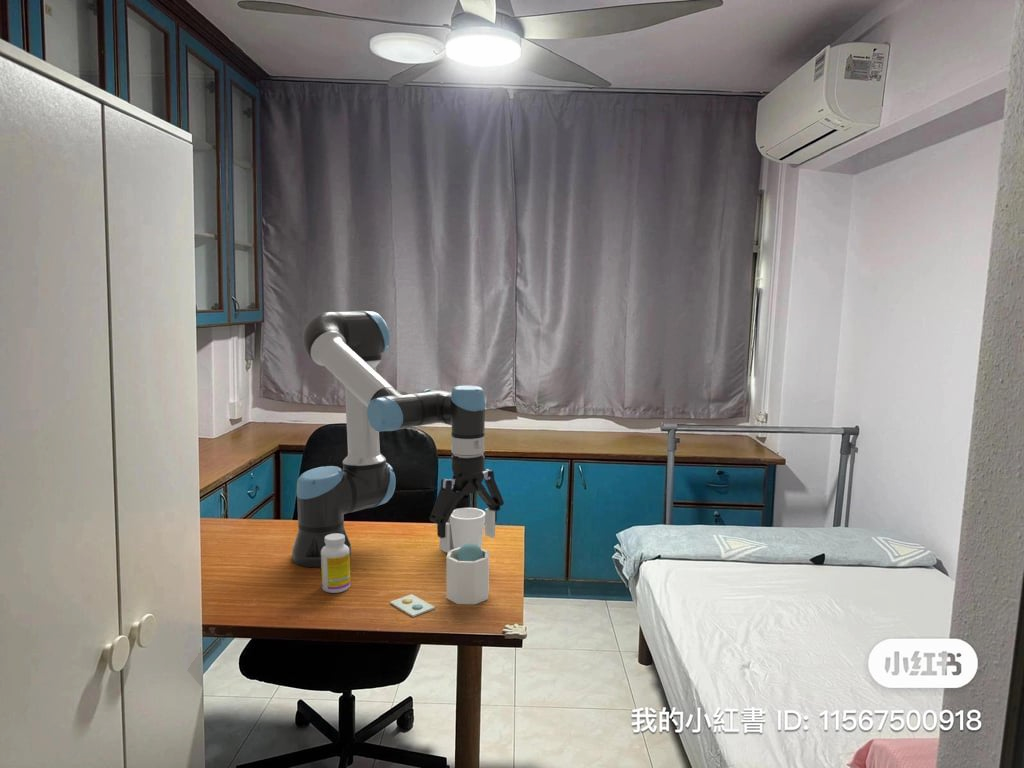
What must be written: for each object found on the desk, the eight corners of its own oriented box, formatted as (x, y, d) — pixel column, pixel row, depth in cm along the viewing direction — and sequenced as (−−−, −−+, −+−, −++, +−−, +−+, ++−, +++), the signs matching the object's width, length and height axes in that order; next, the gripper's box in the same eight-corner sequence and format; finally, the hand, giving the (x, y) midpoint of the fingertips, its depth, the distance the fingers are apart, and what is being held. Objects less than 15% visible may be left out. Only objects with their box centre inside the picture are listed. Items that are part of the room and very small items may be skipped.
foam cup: (453, 569, 182) (453, 520, 180) (446, 556, 190) (446, 509, 188) (489, 566, 184) (489, 517, 182) (481, 552, 193) (481, 506, 191)
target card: (390, 603, 162) (390, 601, 162) (411, 595, 166) (411, 593, 166) (413, 617, 156) (412, 614, 156) (435, 608, 160) (434, 606, 160)
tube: (439, 594, 167) (438, 553, 166) (470, 582, 174) (470, 543, 172) (465, 608, 160) (465, 565, 159) (496, 595, 167) (497, 555, 165)
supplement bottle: (356, 587, 170) (355, 536, 169) (333, 596, 165) (331, 543, 164) (339, 579, 175) (337, 529, 173) (316, 588, 170) (314, 537, 168)
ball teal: (448, 561, 165) (457, 539, 169) (465, 575, 168) (473, 553, 172) (467, 558, 161) (475, 536, 165) (483, 572, 164) (491, 550, 168)
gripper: (433, 466, 151) (434, 561, 154) (519, 448, 168) (518, 534, 171) (413, 459, 156) (414, 551, 159) (497, 443, 173) (497, 526, 176)
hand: (467, 543), depth 165 cm, fingers open, 13 cm apart
